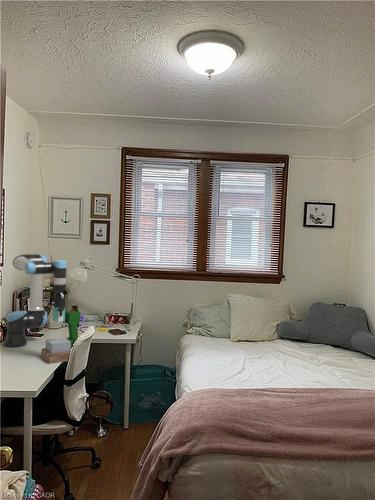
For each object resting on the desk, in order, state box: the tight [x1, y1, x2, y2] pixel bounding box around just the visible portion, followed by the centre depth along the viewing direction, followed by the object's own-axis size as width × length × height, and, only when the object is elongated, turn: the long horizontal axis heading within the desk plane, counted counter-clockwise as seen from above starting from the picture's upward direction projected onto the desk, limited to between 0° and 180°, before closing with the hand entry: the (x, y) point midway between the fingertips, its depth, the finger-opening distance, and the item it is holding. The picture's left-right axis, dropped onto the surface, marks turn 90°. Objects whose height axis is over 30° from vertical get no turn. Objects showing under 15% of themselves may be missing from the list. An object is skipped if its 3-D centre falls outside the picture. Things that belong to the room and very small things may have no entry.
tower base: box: [41, 347, 71, 365], centre depth 250 cm, size 16×16×6 cm
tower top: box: [45, 337, 72, 354], centre depth 249 cm, size 12×12×6 cm
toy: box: [63, 304, 81, 349], centre depth 275 cm, size 10×14×30 cm
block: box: [51, 307, 66, 323], centre depth 248 cm, size 6×6×8 cm
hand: (58, 320), depth 248 cm, fingers closed on block, 6 cm apart
